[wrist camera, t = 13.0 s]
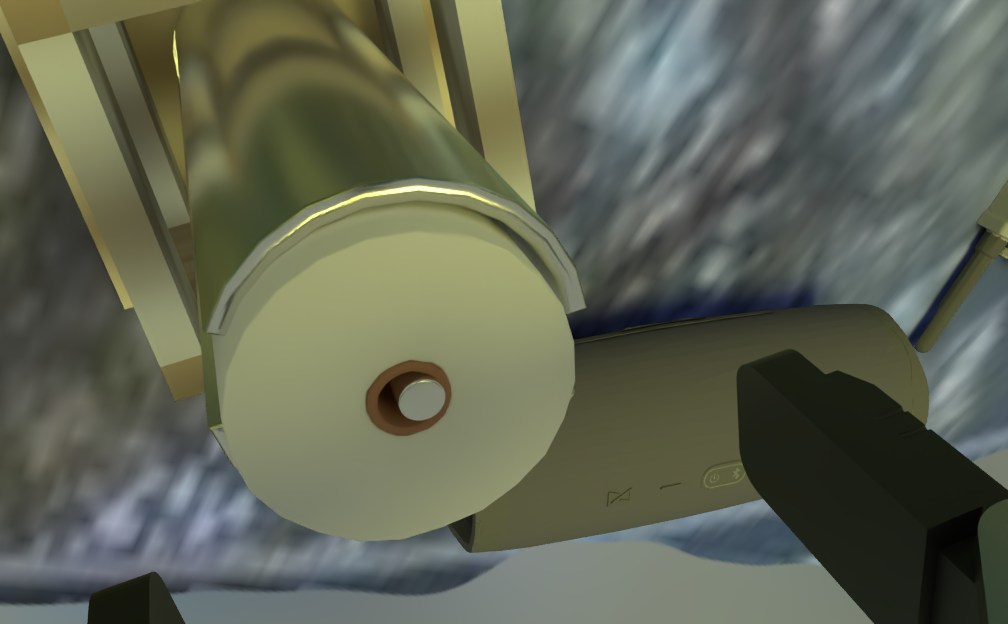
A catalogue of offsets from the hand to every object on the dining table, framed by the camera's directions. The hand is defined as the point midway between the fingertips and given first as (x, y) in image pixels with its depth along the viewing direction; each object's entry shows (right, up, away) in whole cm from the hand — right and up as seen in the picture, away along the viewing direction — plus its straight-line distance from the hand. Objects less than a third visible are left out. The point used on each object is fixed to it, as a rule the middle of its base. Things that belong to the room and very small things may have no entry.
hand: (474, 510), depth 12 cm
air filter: (-9, +13, +23) cm, 28 cm away
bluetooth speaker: (+7, 0, +37) cm, 38 cm away
